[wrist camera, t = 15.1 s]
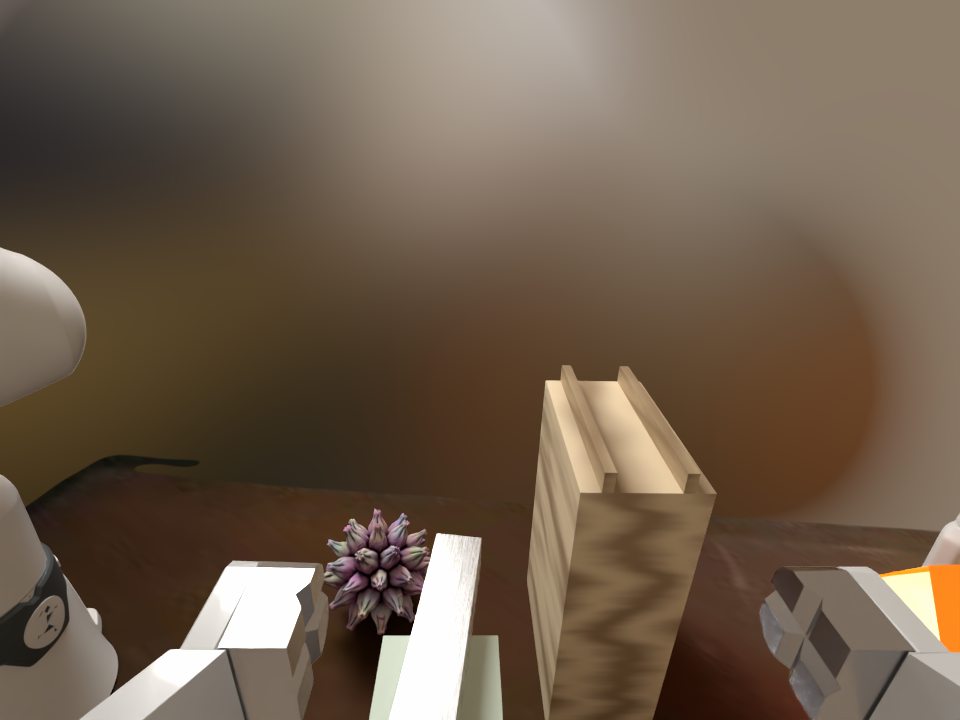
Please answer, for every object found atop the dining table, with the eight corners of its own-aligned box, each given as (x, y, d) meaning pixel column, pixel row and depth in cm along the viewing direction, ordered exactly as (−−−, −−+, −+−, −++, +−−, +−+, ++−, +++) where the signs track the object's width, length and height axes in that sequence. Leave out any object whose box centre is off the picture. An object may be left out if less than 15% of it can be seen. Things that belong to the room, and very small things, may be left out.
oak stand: (546, 731, 43) (583, 472, 32) (527, 580, 58) (547, 365, 46) (649, 731, 44) (722, 474, 32) (604, 580, 58) (643, 366, 47)
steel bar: (411, 1086, 18) (319, 1068, 19) (480, 571, 40) (437, 566, 40) (408, 1056, 17) (308, 1036, 17) (481, 537, 39) (436, 533, 39)
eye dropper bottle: (978, 599, 57) (1029, 518, 52) (927, 595, 57) (973, 514, 52) (947, 569, 61) (992, 490, 56) (900, 566, 61) (940, 487, 56)
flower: (401, 683, 47) (396, 592, 42) (301, 633, 51) (285, 545, 46) (456, 590, 56) (457, 507, 51) (368, 554, 61) (361, 475, 56)
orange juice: (972, 779, 41) (1106, 608, 33) (870, 785, 40) (980, 613, 32) (894, 683, 48) (989, 523, 40) (807, 687, 47) (884, 525, 39)
